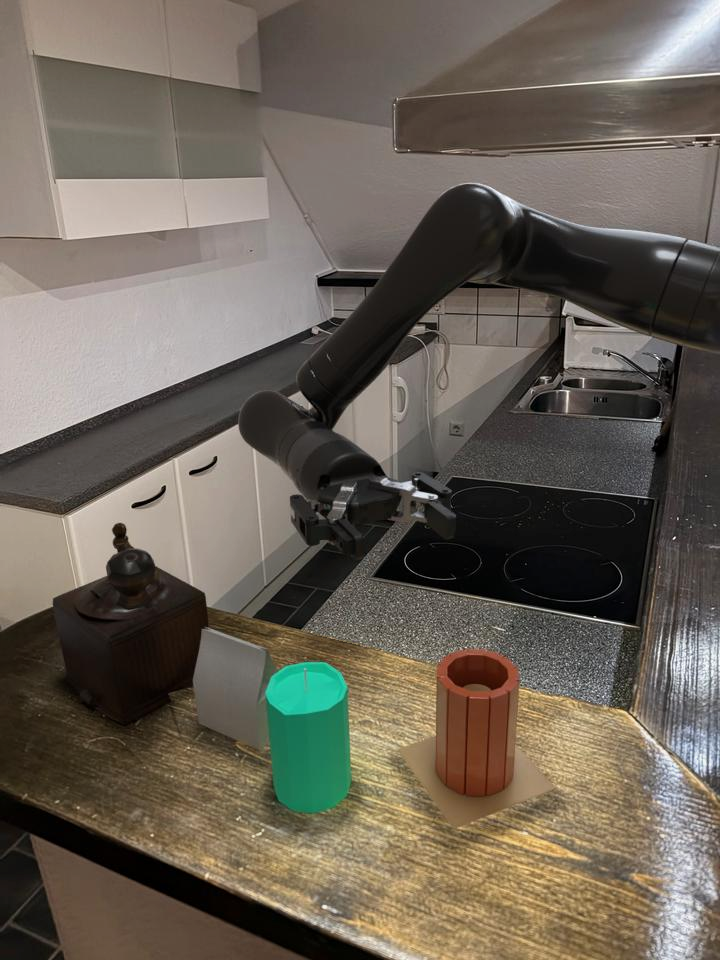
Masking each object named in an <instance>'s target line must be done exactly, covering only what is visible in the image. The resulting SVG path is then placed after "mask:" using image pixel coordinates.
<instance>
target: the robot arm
mask: <svg viewBox="0 0 720 960" xmlns="http://www.w3.org/2000/svg"><path fill="white" fill-rule="evenodd" d="M468 282H469V283H474V284H483V285H484V284H486V285H496V286H502V287H508V288H514V289H520V290H523V291H529V292H535V293H539V294H544V295H547V296H551V297H555V298H558V299H561V300H564V301H566V302H569V303H571V304H573V305H575V306H577V307H578V308H580V309H583V310H585V311H587V312H589V313H591V314H594V315H595V316H598V317H599V318H601V319H604V320H606V321H609V322H611V323H613V324H615V325H618V326H620V327H622V328H625V329H627V330H630V331H632V332H635V333H639V334H641V335H644V336H647V337H651V338H653V339H657V340H660V341H663V342H666V343H669V344H674V345H677V346H679V347H680V346H681V347H684V348H687V349H691V350H694V351H699V352H703V353H707V354H715V355H720V246H718V245H713V244H710V243H706V242H702V241H699V240H698V241H697V240H694V239H688V238H686V237H681V236H676V235H671V234H666V233H665V234H664V233H658V232H651V231H644V230H634V229H633V230H631V229H619V228H606V227H605V228H604V227H594V226H587V225H582V224H577V223H575V222H571V221H567V220H566V219H565V220H564V219H562V218H559V217H556V216H553V215H550V214H548V213H545V212H542V211H539V210H536V209H534V208H532V207H529V206H527V205H524V204H522V203H520V202H518V201H516V200H514V199H512V198H510V197H509V196H507V195H505V194H503V193H501V192H499V191H498V190H496V189H494V188H492V187H490V186H488V185H485V184H482V183H479V182H466V183H459V184H457V185H454V186H452V187H449V188H448V189H447V190H446V191H443V193H442V194H440V195H439V197H437V199H436V200H435V201H434V202H433V203H432V205H431V206H430V207H429V209H428V210H427V211H426V213H425V214H424V215H423V217H422V218H421V220H420V221H419V223H418V224H417V225H416V226H415V228H414V230H413V231H412V232H411V234H410V235H409V237H408V239H407V240H406V242H405V243H404V245H403V246H402V247H401V250H400V251H399V252H398V254H397V255H396V256H395V258H394V259H393V260H392V262H391V263H390V265H389V266H388V267H387V269H386V270H384V273H383V274H382V275H381V276H380V278H379V280H377V282H376V283H375V285H374V286H373V287H372V288H371V290H370V291H369V292H368V293H367V295H366V296H365V297H364V298H363V299H362V300H361V302H359V304H358V305H357V306H356V308H355V309H354V310H353V311H352V312H351V313H350V314H349V316H347V318H346V319H345V320H343V322H342V323H341V324H340V325H339V326H338V327H337V328H336V329H335V330H334V331H333V332H332V334H330V336H329V337H327V338H326V339H325V341H323V343H321V345H320V346H319V347H318V348H317V349H316V350H314V352H313V353H312V354H311V355H310V356H309V357H308V359H306V360H305V362H304V363H303V364H302V365H301V366H300V368H299V369H298V371H297V373H296V376H295V378H296V380H295V382H296V385H297V388H298V390H299V392H300V394H302V396H303V397H304V399H305V400H306V401H307V402H308V403H309V404H310V405H311V406H312V407H310V408H309V409H307V408H305V407H304V406H302V405H300V404H299V403H297V402H295V401H294V400H292V399H290V398H289V397H287V396H286V395H284V394H283V393H281V392H279V391H277V390H273V389H265V390H259V391H257V392H255V393H253V394H251V395H250V396H249V397H248V398H247V399H246V400H245V402H244V403H243V404H242V406H241V407H240V410H239V413H238V414H239V415H238V420H237V422H238V423H237V427H238V432H239V434H240V436H241V438H242V440H243V441H244V442H245V443H246V444H247V445H248V446H250V447H251V448H252V449H254V450H255V451H257V452H258V453H259V454H261V455H262V456H263V457H265V458H267V459H268V460H269V461H271V462H273V463H274V464H275V465H276V466H277V467H279V468H280V469H281V471H282V472H283V473H284V474H285V475H286V476H287V477H288V478H289V479H290V481H292V484H293V485H294V487H295V488H296V489H297V491H298V492H299V493H300V494H299V493H298V494H296V493H295V494H292V495H290V496H289V506H290V507H289V508H290V522H291V524H292V525H293V526H294V528H295V529H296V531H297V533H298V534H299V536H300V537H301V538H302V540H303V541H304V543H305V544H306V545H307V546H310V547H315V546H318V545H320V543H321V541H327V543H328V544H329V545H333V546H335V547H336V548H337V549H338V550H339V552H341V553H342V555H344V556H347V557H351V558H352V559H353V560H354V561H357V560H362V559H364V557H365V545H364V543H365V542H364V537H363V535H362V533H361V532H360V531H359V530H358V529H357V528H356V525H357V524H359V525H360V526H362V525H366V524H370V523H373V522H376V521H377V522H378V521H386V520H387V521H393V522H396V523H402V524H406V525H408V524H410V523H411V522H412V521H416V522H420V523H424V524H426V526H428V527H429V528H430V529H431V530H432V531H434V532H435V533H436V534H437V535H439V536H440V537H441V538H443V539H444V540H450V539H453V538H455V533H456V532H457V515H456V513H454V512H453V511H452V494H453V490H452V489H451V488H449V487H448V486H446V485H444V484H442V483H441V482H439V481H437V480H436V479H434V478H432V477H431V476H429V475H428V474H426V473H424V472H422V471H414V472H412V473H411V480H408V481H403V482H400V481H399V480H398V479H395V478H392V477H388V476H387V474H386V473H385V471H384V469H383V468H382V466H381V464H380V463H379V461H378V460H376V459H375V457H373V456H372V455H371V454H369V453H368V452H367V451H365V450H363V448H361V447H360V446H358V445H357V444H356V443H354V442H353V441H352V440H350V439H349V438H348V437H346V436H345V435H343V434H340V433H338V432H335V431H334V428H335V426H336V425H337V423H338V422H339V421H340V419H341V417H342V415H343V414H344V412H345V411H346V409H347V408H348V407H349V406H350V404H352V403H353V402H354V401H355V400H356V399H357V398H358V397H359V396H360V395H361V394H362V393H363V392H364V391H365V390H366V389H367V388H368V387H369V386H370V385H371V384H372V383H373V382H374V381H375V380H376V379H377V378H378V377H379V376H380V375H381V374H382V373H383V372H384V370H385V369H386V368H387V367H388V365H389V364H390V363H391V362H392V360H393V359H394V358H395V356H396V355H397V353H398V352H399V351H400V349H401V347H402V345H403V344H404V342H405V340H406V339H407V338H408V336H409V334H410V333H411V332H412V330H413V329H414V328H415V327H416V326H417V324H418V323H419V322H420V321H421V320H422V319H423V318H424V317H425V316H426V315H427V314H428V313H429V312H430V311H431V310H432V309H433V308H434V307H436V305H438V304H439V303H440V302H441V301H443V300H444V299H445V298H446V297H448V296H449V295H451V294H452V293H453V292H454V291H456V290H458V289H459V288H460V287H461V286H463V285H465V284H466V283H468ZM401 501H402V511H400V510H399V506H400V504H401ZM418 503H419V504H420V505H422V506H424V507H423V510H418V509H417V507H416V506H417V504H418ZM317 513H318V514H319V515H320V516H321V517H323V518H322V519H320V517H319V515H318V514H317Z"/></svg>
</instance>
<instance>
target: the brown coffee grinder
mask: <svg viewBox="0 0 720 960" xmlns="http://www.w3.org/2000/svg"><path fill="white" fill-rule="evenodd" d="M127 531H128V529H127V526H126V524H125V523H123V522H117V523H114V525H113V527H112V528H111V532H112V534H113V536H114V538H112V539H113V540H112V546H113V548H114V549H115V550H116V551H117V552H116V553H114V554H112V556H110V558H108V560H107V562H106V565H105V570H106V575H104V576H102V577H101V578H98V579H96V580H92V581H91V582H89V583H86V584H83V585H81V586H79V587H76V588H74V589H71V590H68V591H67V592H63V593H62V594H59V595H57V596H55V597H53V598H52V609H53V614H54V619H55V623H56V629H57V633H58V638H59V643H60V648H61V652H62V657H63V663H64V665H65V666H64V667H65V671H66V683H67V685H69V686H70V687H71V688H72V689H73V690H74V691H75V692H76V693H77V694H78V695H79V698H80V699H81V701H83V702H84V703H85V704H87V705H89V706H90V707H92V708H93V709H95V710H97V711H99V712H100V713H102V714H103V715H104V716H106V717H107V718H109V719H110V720H112V721H115V722H117V723H119V724H121V725H124V726H126V725H128V724H130V723H133V722H135V721H137V720H139V719H142V718H144V717H146V716H148V715H150V714H153V713H154V712H156V711H158V710H159V709H161V708H163V707H164V706H166V705H168V704H170V703H171V702H172V700H171V697H170V694H171V693H174V692H179V691H183V690H186V689H189V688H194V686H193V677H194V672H195V668H196V663H197V658H198V654H199V649H200V642H201V634H202V629H205V627H207V628H210V625H209V615H208V614H209V613H208V606H207V597H206V593H205V592H204V591H202V590H200V589H198V588H197V587H195V586H193V585H192V584H190V583H188V582H186V581H184V580H183V579H181V578H178V577H176V576H174V575H173V574H171V573H170V572H167V571H165V570H163V569H162V568H160V567H158V566H157V565H156V563H155V560H154V559H153V557H152V555H151V554H150V553H149V552H148V551H147V550H144V549H142V548H135V547H134V546H132V544H131V543H130V541H129V536H128V535H127Z"/></svg>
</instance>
